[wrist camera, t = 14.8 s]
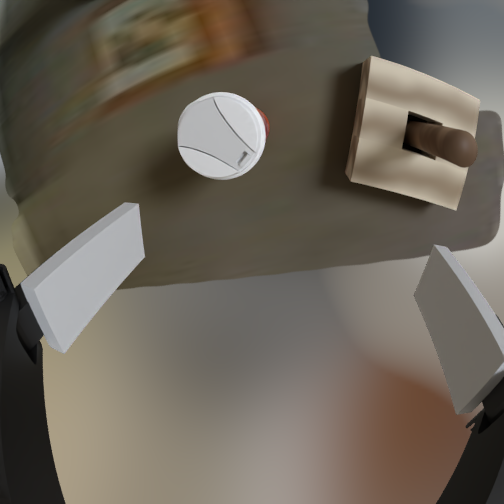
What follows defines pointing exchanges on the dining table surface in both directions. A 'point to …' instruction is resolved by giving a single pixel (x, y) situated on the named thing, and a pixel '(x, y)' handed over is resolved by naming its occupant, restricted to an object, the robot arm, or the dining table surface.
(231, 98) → the coffee cup
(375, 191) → the dining table surface
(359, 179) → the maple block
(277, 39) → the dining table surface
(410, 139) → the walnut peg
